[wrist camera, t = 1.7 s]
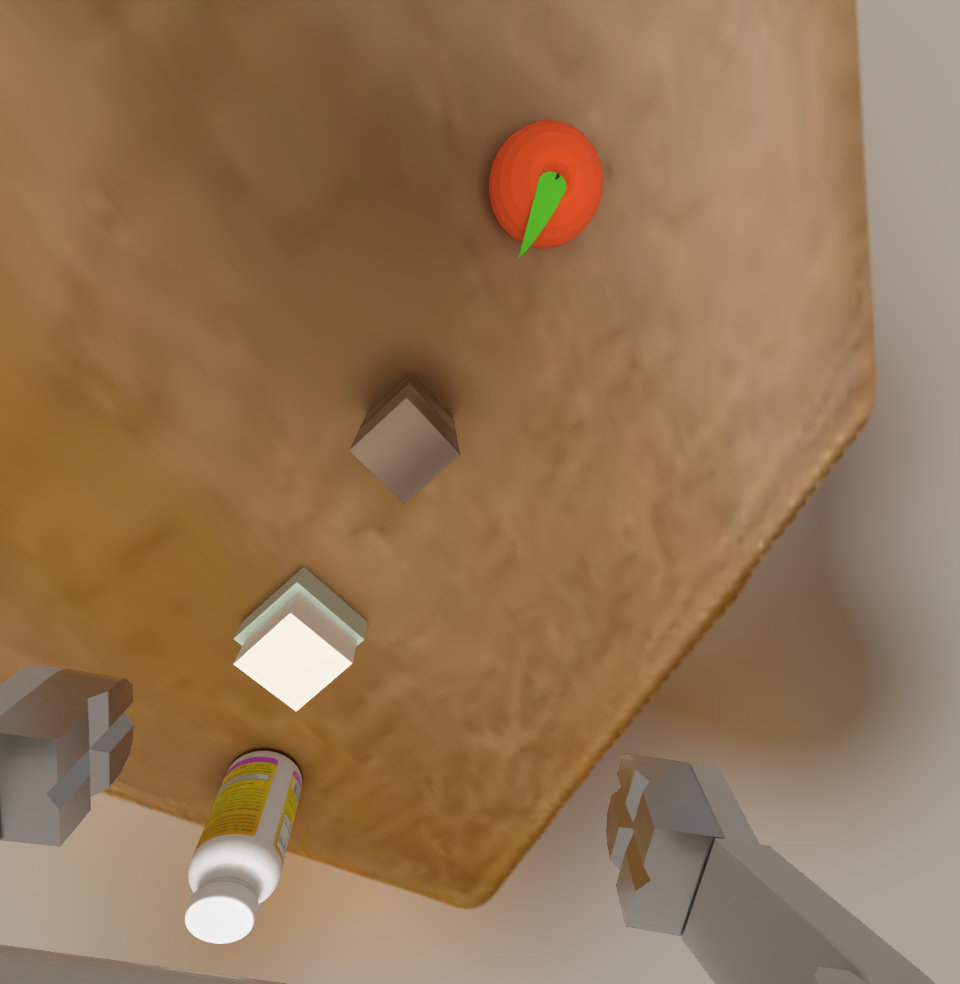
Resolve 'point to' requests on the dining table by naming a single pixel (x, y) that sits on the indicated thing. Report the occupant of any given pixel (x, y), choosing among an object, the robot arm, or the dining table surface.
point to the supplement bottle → (242, 846)
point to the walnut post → (406, 439)
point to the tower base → (316, 595)
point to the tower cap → (296, 652)
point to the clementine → (545, 184)
